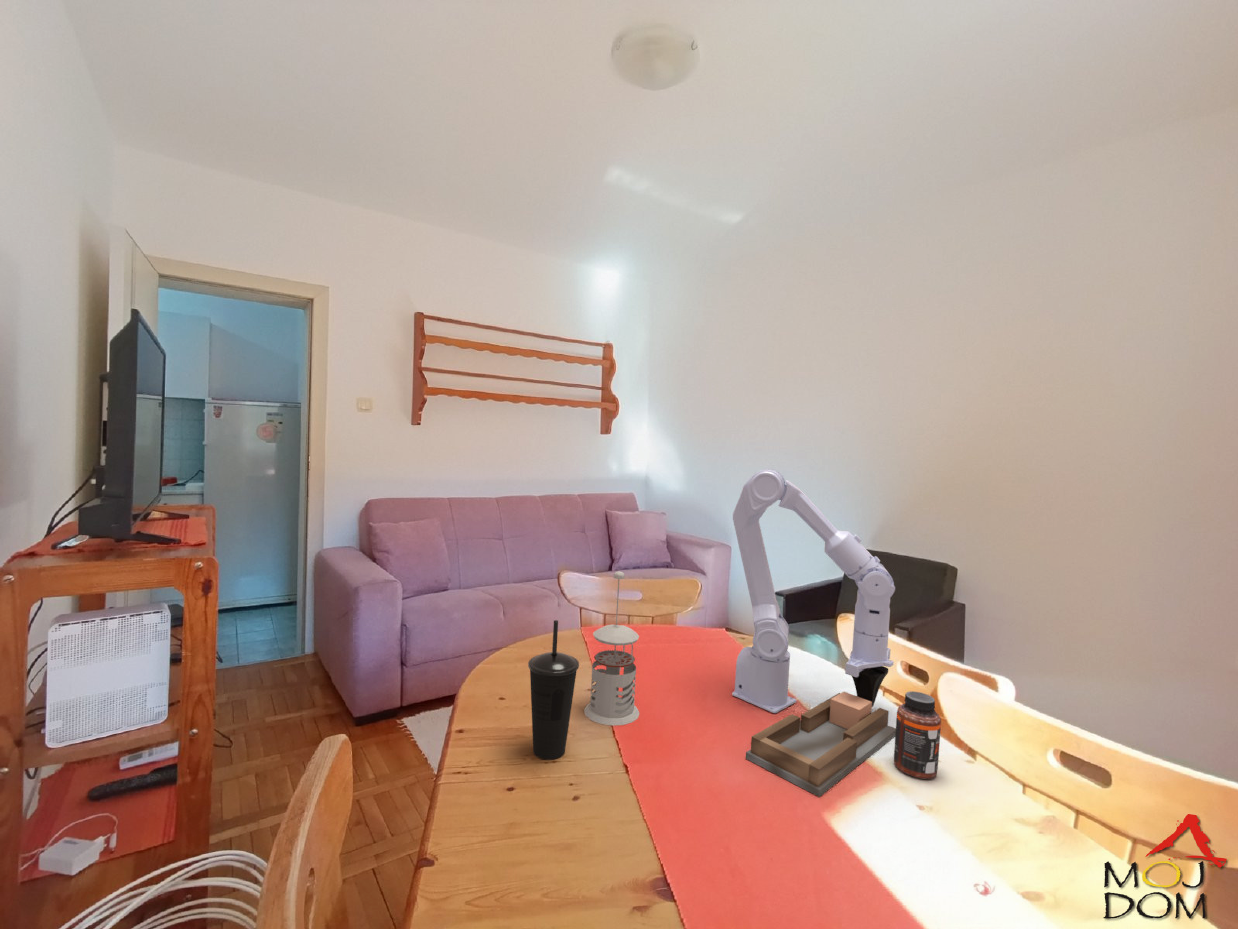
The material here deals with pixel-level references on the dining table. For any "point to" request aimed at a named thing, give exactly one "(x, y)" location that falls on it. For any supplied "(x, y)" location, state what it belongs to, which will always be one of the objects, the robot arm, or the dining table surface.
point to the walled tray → (818, 747)
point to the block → (848, 709)
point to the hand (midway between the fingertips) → (865, 705)
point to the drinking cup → (551, 699)
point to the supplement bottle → (917, 736)
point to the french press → (613, 676)
